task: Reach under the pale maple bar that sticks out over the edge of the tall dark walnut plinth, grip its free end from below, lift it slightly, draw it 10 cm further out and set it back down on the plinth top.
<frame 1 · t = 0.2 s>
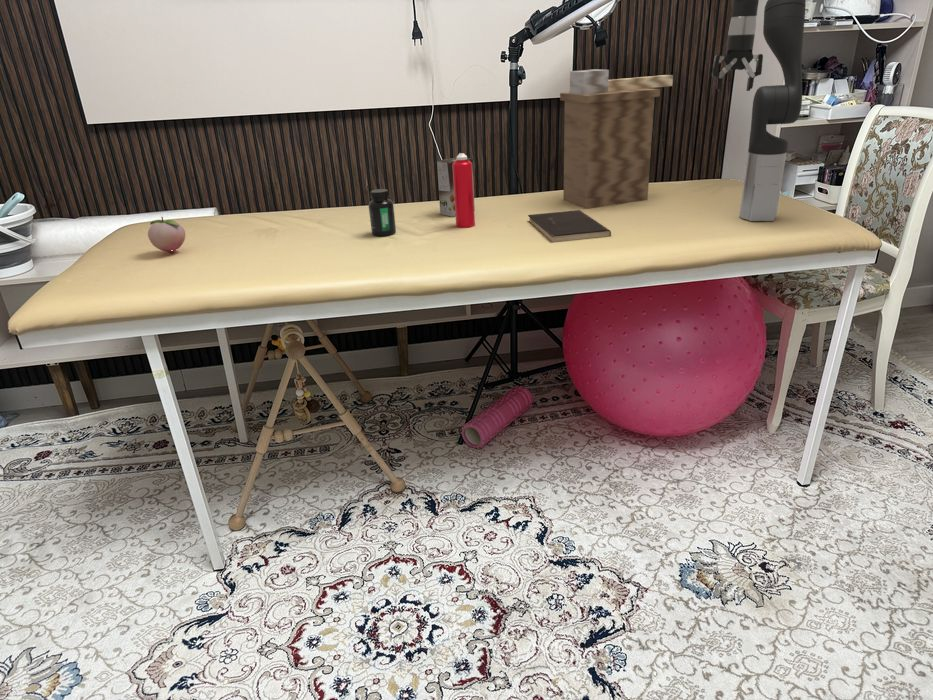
hand: (733, 91, 199), 29 cm above the table, tool pointing down, fingers open, 8 cm apart
supplement bottle: (384, 234, 178), on the table
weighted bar: (669, 85, 192), point 32 cm above the table, touching plinth
plinth: (604, 199, 200), on the table
coffee box: (457, 213, 195), on the table
hardcover book: (567, 230, 173), on the table
decorative fruit: (171, 254, 171), on the table
bottle: (465, 225, 181), on the table
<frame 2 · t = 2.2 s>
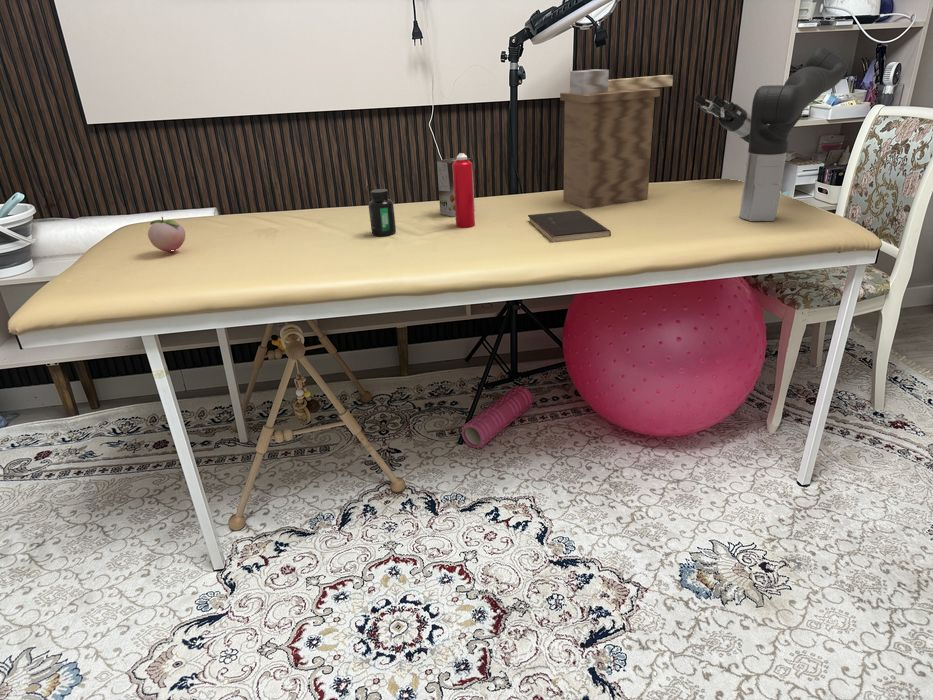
hand: (704, 97, 198), 28 cm above the table, tool pointing upward, fingers open, 8 cm apart
nothing on the table moved.
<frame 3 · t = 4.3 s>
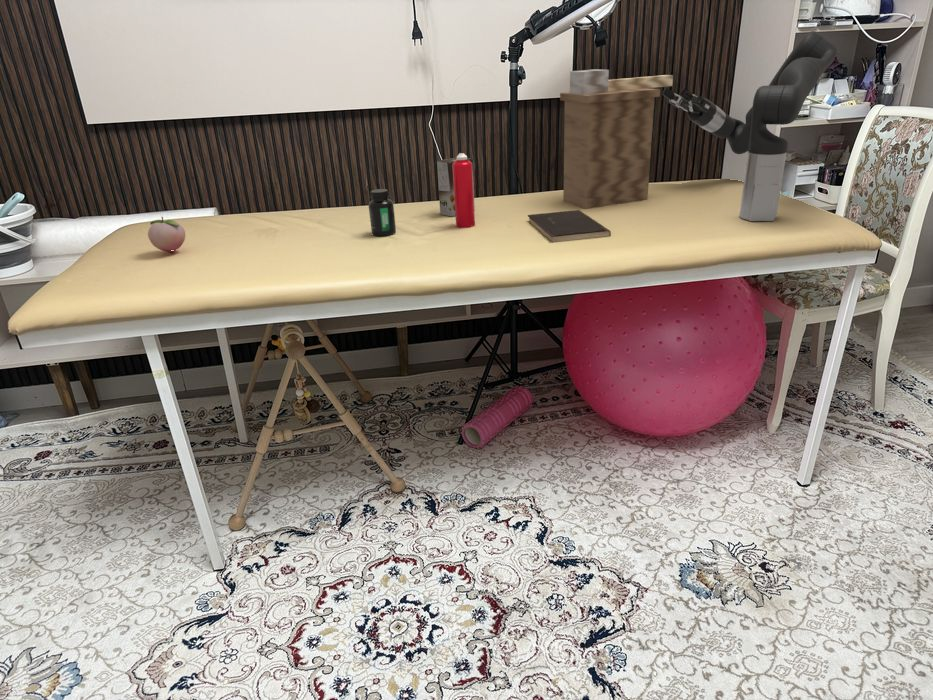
hand: (672, 91, 193), 30 cm above the table, tool pointing upward, fingers open, 8 cm apart
nothing on the table moved.
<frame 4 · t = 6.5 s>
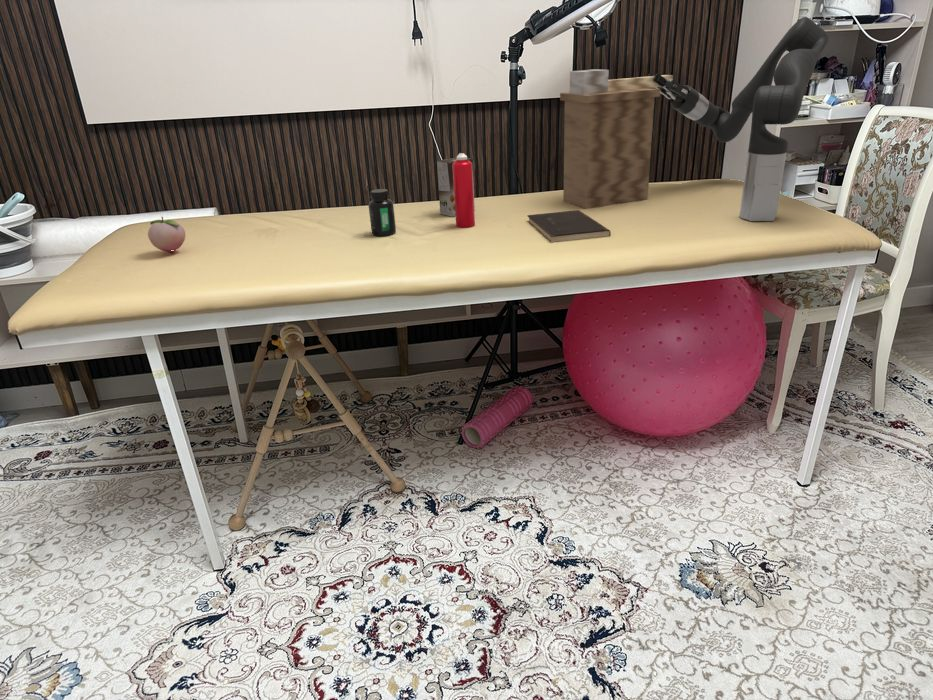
hand: (651, 76, 189), 35 cm above the table, tool pointing upward, fingers closed on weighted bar, 3 cm apart
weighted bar: (669, 85, 192), point 32 cm above the table, touching gripper, plinth
everything else where it was.
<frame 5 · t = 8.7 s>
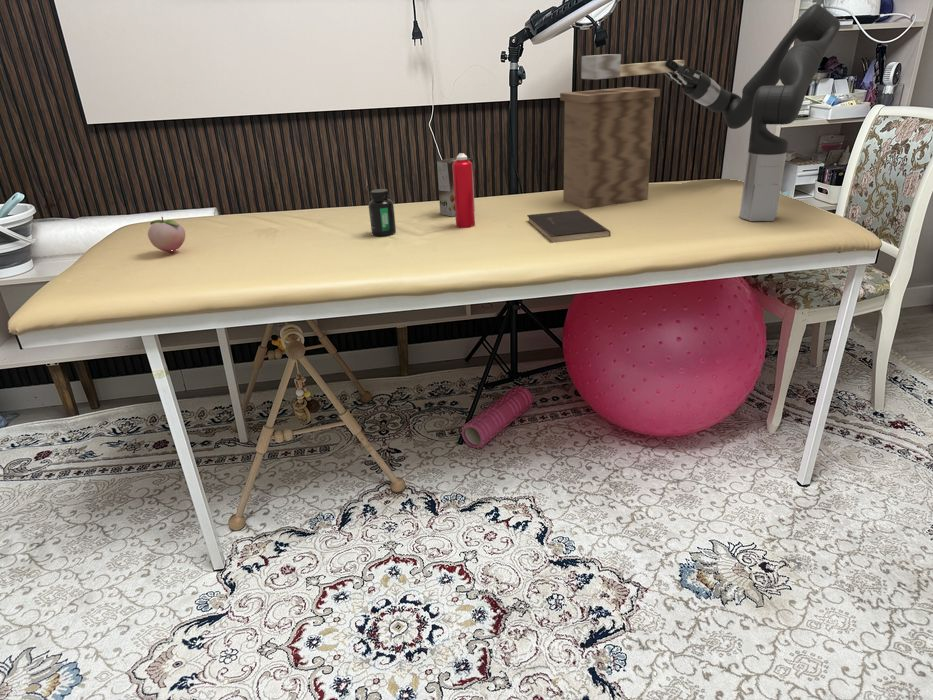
hand: (663, 61, 188), 39 cm above the table, tool pointing upward, fingers closed on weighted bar, 3 cm apart
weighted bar: (680, 70, 191), point 36 cm above the table, touching gripper
everything else where it was.
when the fingers open (35 cm above the table, at t = 11.2 s): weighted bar stays where it is, resting on plinth.
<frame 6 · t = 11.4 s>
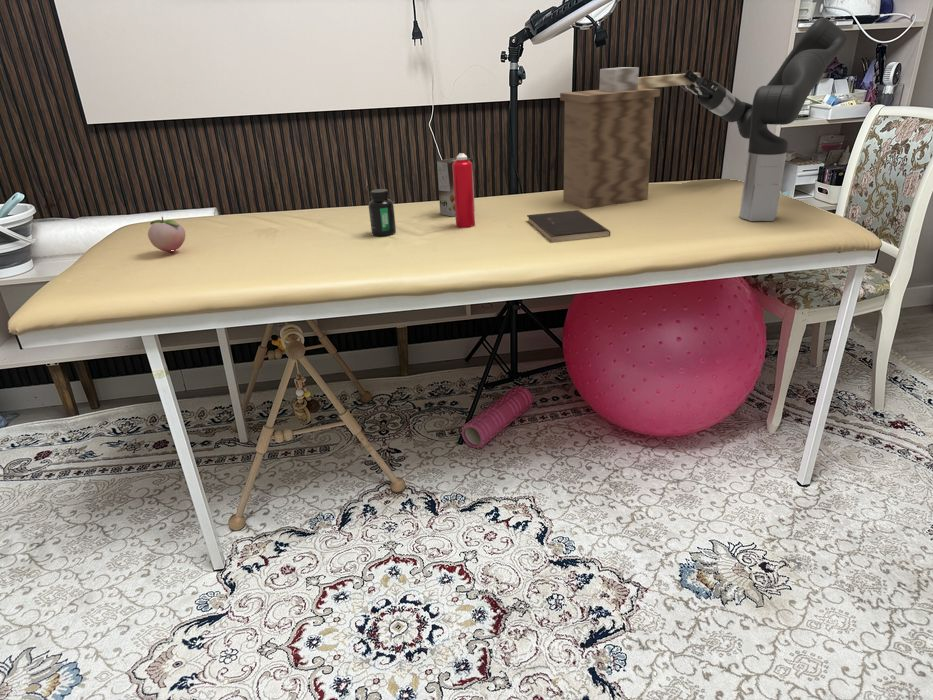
hand: (680, 73, 192), 35 cm above the table, tool pointing upward, fingers open, 5 cm apart
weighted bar: (696, 83, 195), point 32 cm above the table, touching plinth
everything else where it was.
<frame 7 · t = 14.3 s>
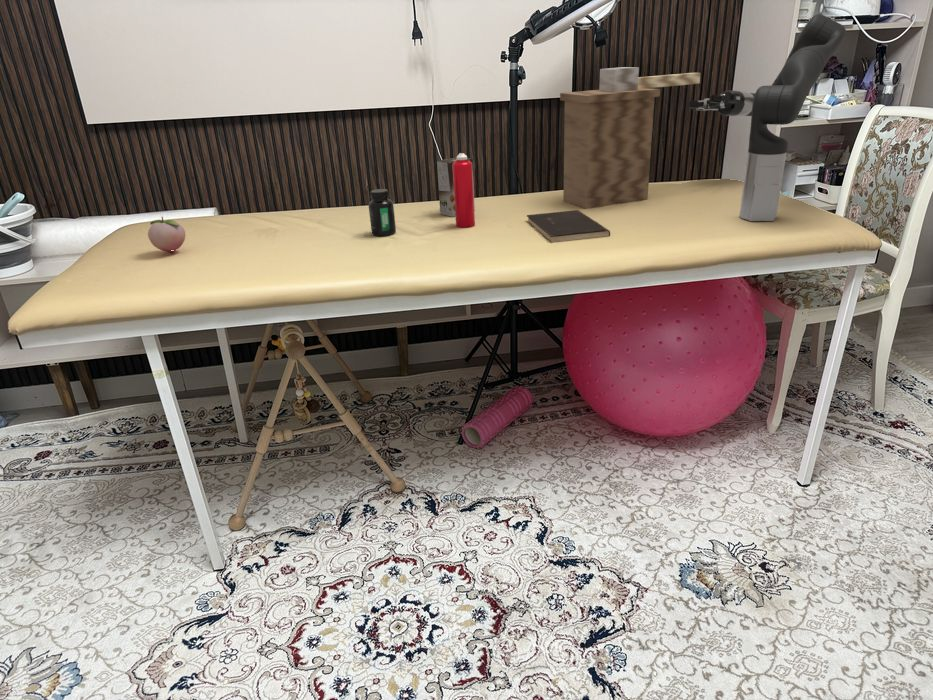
hand: (699, 101, 196), 27 cm above the table, tool horizontal, fingers open, 8 cm apart
nothing on the table moved.
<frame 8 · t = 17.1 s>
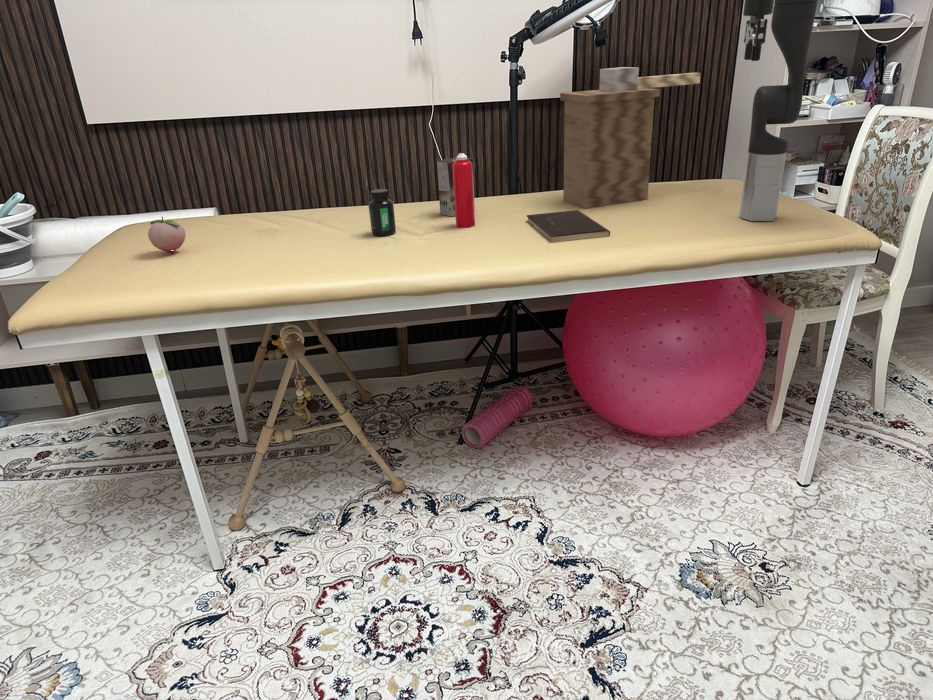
hand: (751, 60, 182), 38 cm above the table, tool pointing down, fingers open, 8 cm apart
nothing on the table moved.
at the end: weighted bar moved 10.0 cm from its start; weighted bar inside the target area on the plinth (0.1 cm from its centre), point 32.0 cm above the plinth's base; the gripper is holding nothing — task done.
